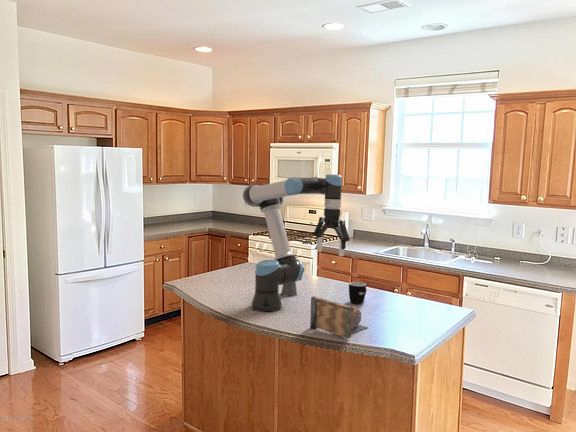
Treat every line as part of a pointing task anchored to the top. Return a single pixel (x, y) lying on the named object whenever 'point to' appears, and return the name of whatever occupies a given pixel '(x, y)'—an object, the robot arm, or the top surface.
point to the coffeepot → (289, 289)
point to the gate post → (313, 312)
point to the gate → (334, 317)
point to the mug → (357, 292)
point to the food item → (355, 317)
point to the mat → (358, 328)
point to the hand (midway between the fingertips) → (330, 253)
